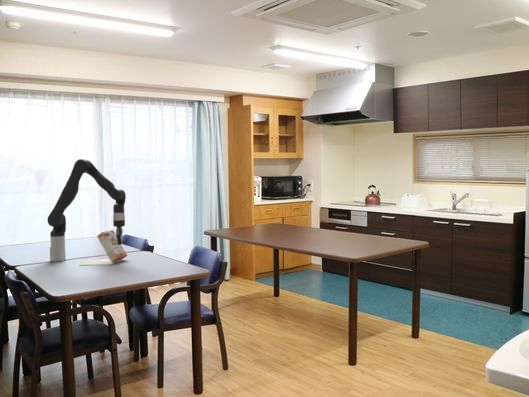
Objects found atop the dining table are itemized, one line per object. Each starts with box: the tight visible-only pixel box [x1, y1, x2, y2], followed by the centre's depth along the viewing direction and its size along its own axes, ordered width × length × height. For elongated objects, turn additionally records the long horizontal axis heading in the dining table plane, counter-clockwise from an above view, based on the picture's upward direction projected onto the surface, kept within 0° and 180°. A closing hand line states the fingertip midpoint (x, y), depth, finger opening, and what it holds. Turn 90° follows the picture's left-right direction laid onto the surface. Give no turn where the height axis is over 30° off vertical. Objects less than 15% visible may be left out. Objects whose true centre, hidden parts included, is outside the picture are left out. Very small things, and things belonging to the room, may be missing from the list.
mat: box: [78, 258, 115, 267], centre depth 332 cm, size 21×18×1 cm
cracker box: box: [96, 229, 128, 263], centre depth 335 cm, size 14×6×21 cm
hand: (119, 244), depth 333 cm, fingers closed
